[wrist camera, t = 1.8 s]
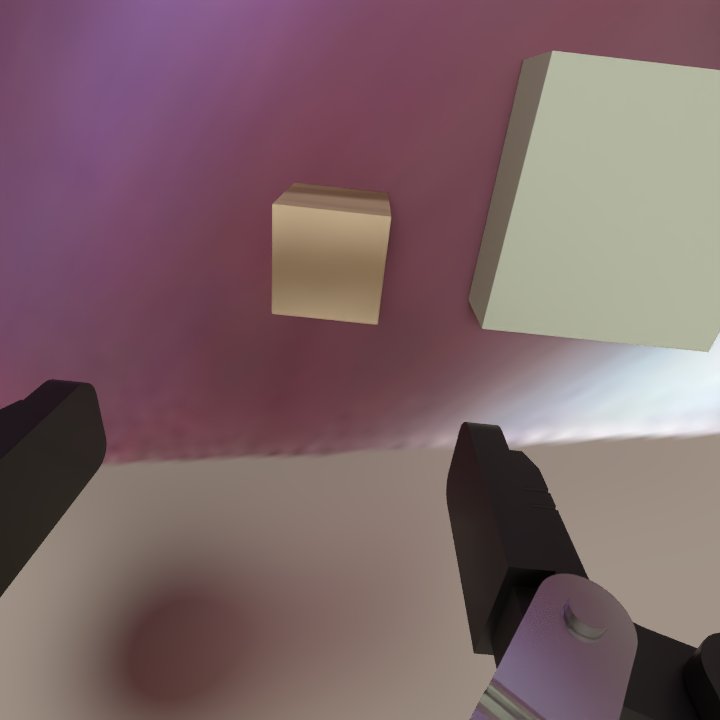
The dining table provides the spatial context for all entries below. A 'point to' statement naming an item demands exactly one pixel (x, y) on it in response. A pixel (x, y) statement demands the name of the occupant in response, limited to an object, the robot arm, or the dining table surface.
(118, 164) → the dining table surface
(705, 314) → the sage plinth
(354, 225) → the maple block
